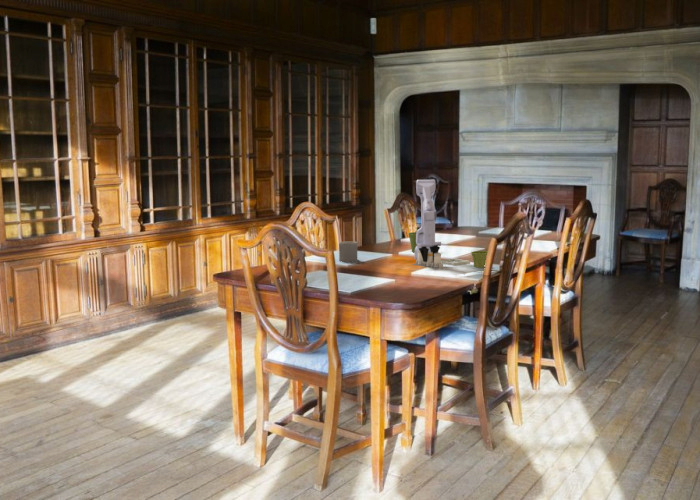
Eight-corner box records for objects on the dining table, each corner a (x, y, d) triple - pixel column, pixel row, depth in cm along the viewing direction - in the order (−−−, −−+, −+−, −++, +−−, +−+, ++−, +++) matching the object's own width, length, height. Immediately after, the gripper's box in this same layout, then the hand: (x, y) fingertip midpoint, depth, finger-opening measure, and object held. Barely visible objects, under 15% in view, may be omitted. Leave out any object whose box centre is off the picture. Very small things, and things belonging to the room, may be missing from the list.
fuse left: (416, 264, 368) (416, 250, 367) (421, 263, 370) (421, 250, 369) (420, 265, 365) (421, 251, 364) (426, 264, 367) (426, 250, 366)
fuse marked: (424, 265, 363) (424, 252, 362) (429, 265, 365) (429, 251, 364) (429, 266, 360) (429, 252, 360) (434, 265, 363) (434, 252, 362)
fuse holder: (411, 267, 369) (411, 260, 368) (421, 265, 373) (421, 259, 372) (437, 271, 353) (437, 264, 353) (447, 270, 358) (447, 263, 357)
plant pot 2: (475, 271, 354) (476, 253, 352) (467, 268, 363) (467, 251, 361) (493, 270, 356) (493, 253, 355) (484, 267, 365) (485, 250, 364)
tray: (436, 265, 373) (436, 260, 373) (453, 263, 380) (453, 258, 380) (453, 268, 363) (453, 263, 363) (470, 265, 370) (470, 260, 370)
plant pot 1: (427, 250, 430) (427, 231, 428) (427, 253, 418) (427, 234, 417) (407, 250, 431) (407, 231, 430) (407, 253, 420) (407, 234, 418)
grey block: (352, 262, 387) (352, 244, 386) (336, 261, 392) (335, 243, 390) (363, 259, 399) (362, 241, 398) (346, 258, 403) (346, 240, 402)
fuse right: (432, 267, 358) (432, 253, 358) (437, 266, 361) (437, 252, 360) (437, 268, 356) (437, 254, 355) (442, 267, 358) (442, 253, 357)
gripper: (423, 236, 353) (423, 263, 355) (445, 233, 362) (445, 260, 364) (414, 234, 359) (414, 261, 361) (435, 232, 367) (435, 259, 369)
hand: (429, 261), depth 363 cm, fingers open, 5 cm apart
